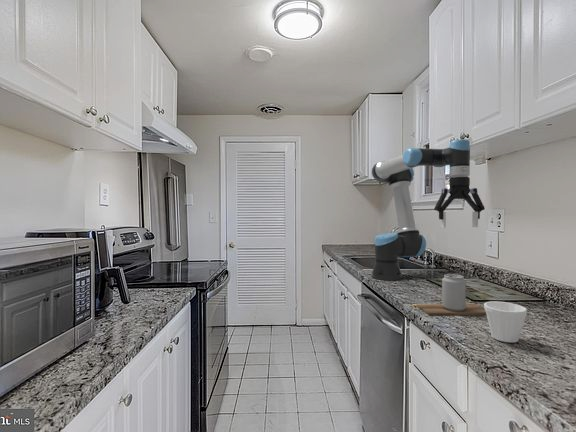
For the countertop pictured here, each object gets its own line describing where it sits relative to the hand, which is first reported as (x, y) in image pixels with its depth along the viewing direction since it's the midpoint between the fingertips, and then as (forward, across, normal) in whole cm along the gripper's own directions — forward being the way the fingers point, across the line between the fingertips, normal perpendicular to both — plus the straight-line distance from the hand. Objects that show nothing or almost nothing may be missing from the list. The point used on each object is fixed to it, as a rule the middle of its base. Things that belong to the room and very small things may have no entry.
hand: (459, 227), depth 134 cm
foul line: (+28, -14, -14) cm, 35 cm away
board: (+28, -14, -21) cm, 38 cm away
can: (+28, -14, -22) cm, 38 cm away
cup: (+29, -12, -46) cm, 56 cm away
